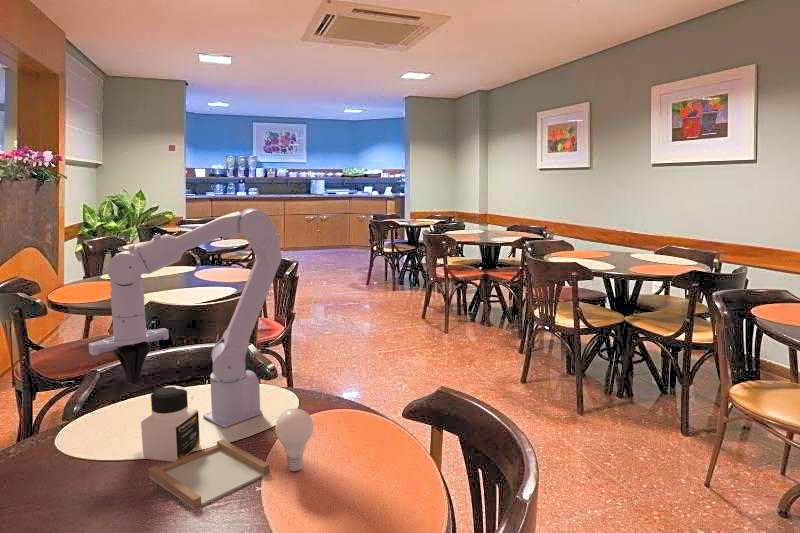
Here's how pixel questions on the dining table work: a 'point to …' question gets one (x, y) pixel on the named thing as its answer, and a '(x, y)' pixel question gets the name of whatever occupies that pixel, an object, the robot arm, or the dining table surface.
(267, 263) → the robot arm
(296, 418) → the lightbulb
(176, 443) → the medicine bottle
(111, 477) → the dining table surface
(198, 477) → the wooden serving tray
